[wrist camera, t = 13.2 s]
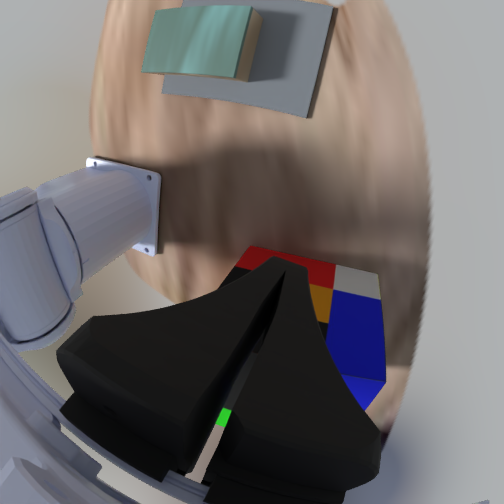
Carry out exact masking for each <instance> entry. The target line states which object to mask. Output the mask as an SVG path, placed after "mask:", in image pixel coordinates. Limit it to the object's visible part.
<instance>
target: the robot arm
mask: <svg viewBox="0 0 504 504" xmlns="http://www.w3.org/2000/svg"><path fill="white" fill-rule="evenodd" d="M150 176H151V178H152V179H150ZM160 187H161V176H160V174H159V173H157V172H153V171H149V170H145V169H141V168H137V167H133V166H129V165H125V164H121V163H117V162H112V161H108V160H104V159H99V158H95V157H89V158H88V159H87V162H86V168H83V169H80V170H78V171H75V172H72V173H69V174H66V175H64V176H61V177H58V178H56V179H53V180H51V181H48V182H46V183H44V184H42V185H40V186H39V187H38V188H36V189H35V190H33V191H32V189H30V188H29V187H25V188H22V189H19V190H17V191H14V192H12V193H10V194H7V195H5V196H3V197H1V198H0V504H140V503H138V502H137V501H135V500H133V499H131V498H129V497H128V496H126V495H124V494H123V493H121V492H119V491H118V490H116V489H114V488H113V487H111V486H110V485H108V484H107V483H105V482H104V481H102V480H101V479H99V478H98V477H97V474H98V473H99V471H100V470H101V468H102V466H101V464H99V463H98V462H97V461H95V460H94V459H93V458H91V457H90V456H89V455H88V454H86V453H85V452H84V451H83V450H82V449H81V448H80V447H79V446H77V445H76V444H75V443H74V442H73V441H71V440H70V439H69V438H68V437H67V436H66V435H64V434H63V433H62V432H61V425H60V423H61V424H62V425H63V426H65V427H66V428H67V429H68V430H69V431H70V432H72V433H73V434H74V435H75V436H77V437H78V438H79V439H80V440H82V441H83V442H84V443H85V444H87V445H88V446H89V447H91V448H92V449H93V450H95V451H96V452H98V453H99V454H100V455H102V456H103V457H104V458H106V459H107V460H109V461H110V462H112V463H113V464H115V465H116V466H118V467H119V468H121V469H123V470H124V471H126V472H128V473H129V474H131V475H132V476H134V477H136V478H138V479H139V480H141V481H143V482H145V483H146V484H149V485H150V486H152V487H154V488H156V489H158V490H160V491H162V492H164V493H166V494H168V495H170V496H172V497H174V498H176V499H179V500H181V501H183V502H186V503H188V504H342V503H343V501H344V497H345V492H346V491H347V490H350V489H352V488H355V487H358V486H360V485H363V484H365V483H367V482H369V481H371V480H372V479H374V478H375V477H376V476H377V474H378V473H379V468H380V459H381V432H380V431H379V429H378V428H377V427H376V425H375V424H374V423H373V421H372V420H371V419H370V418H369V416H368V415H367V414H366V412H365V411H364V410H363V409H362V407H361V406H360V405H359V403H358V402H357V400H356V399H355V397H354V396H353V394H352V392H351V391H350V389H349V388H348V386H347V385H346V383H345V381H344V379H343V378H342V376H341V374H340V372H339V370H338V368H337V367H336V365H335V363H334V361H333V359H332V356H331V354H330V352H329V350H328V348H327V345H326V343H325V340H324V338H323V335H322V332H321V329H320V326H319V323H318V320H317V317H316V313H315V310H314V305H313V301H312V297H311V292H310V286H309V278H308V269H307V267H304V266H302V265H299V264H296V263H293V262H290V261H288V260H285V259H282V258H279V257H276V256H272V257H270V258H269V259H267V260H266V261H265V262H263V263H262V264H261V265H259V266H258V267H256V268H255V269H253V270H252V271H250V272H249V273H247V274H245V275H244V276H242V277H241V278H239V279H237V280H235V281H233V282H231V283H229V284H228V285H226V286H224V287H222V288H220V289H218V290H215V291H213V292H211V293H208V294H206V295H203V296H201V297H198V298H196V299H193V300H190V301H186V302H183V303H179V304H176V305H172V306H169V307H164V308H160V309H155V310H150V311H144V312H137V313H129V314H119V315H105V316H93V317H92V318H90V319H89V320H88V321H87V322H85V323H84V324H83V325H82V326H81V327H80V328H79V329H78V330H77V331H76V332H75V333H73V335H71V337H69V339H67V340H66V341H65V342H64V343H63V344H62V345H61V346H60V347H59V348H58V350H57V351H56V355H57V361H58V363H59V366H60V368H61V369H62V371H63V373H64V375H65V376H66V378H67V380H68V382H69V383H70V385H71V387H72V388H73V390H74V391H75V392H74V393H73V394H72V395H71V397H70V398H69V399H68V400H67V401H65V400H64V399H63V398H62V397H61V396H60V395H59V394H58V393H56V392H55V391H54V390H53V389H52V388H51V387H50V386H49V385H48V384H47V383H46V382H45V381H44V380H43V379H41V377H40V376H39V375H38V374H37V373H36V372H35V371H34V370H33V369H32V368H31V367H30V366H29V365H28V364H27V363H26V362H25V361H24V360H23V359H22V357H21V356H20V355H19V354H18V353H19V352H22V351H27V350H37V349H41V348H44V347H47V346H48V345H51V344H52V343H54V342H55V341H57V340H58V339H59V338H60V337H61V336H62V335H63V334H64V333H65V332H66V331H67V329H68V328H69V326H70V324H71V323H72V321H73V319H74V316H75V313H76V307H75V304H74V301H75V300H76V299H78V298H79V297H80V296H81V295H83V292H82V289H81V284H83V283H84V282H85V281H87V280H88V279H89V278H90V277H92V276H93V275H94V274H96V273H97V272H98V271H100V270H101V269H102V268H104V267H105V266H107V265H108V264H109V263H110V262H112V261H113V260H115V259H116V258H117V257H119V256H120V255H122V254H123V253H125V252H126V251H127V250H129V249H130V248H134V249H136V250H138V251H141V252H143V253H145V254H147V255H150V256H155V255H156V254H157V240H158V217H159V200H160ZM147 248H148V249H147ZM265 328H266V329H265ZM264 330H265V333H264V336H263V339H262V343H261V346H260V349H259V352H258V356H257V358H256V360H255V362H254V364H253V367H252V369H251V371H250V373H249V375H248V377H247V380H246V382H245V384H244V386H243V388H242V390H241V392H240V394H239V396H238V398H237V400H236V402H235V404H234V406H233V408H232V411H231V413H230V416H229V419H228V421H227V424H226V426H225V429H224V431H223V434H222V436H221V439H220V441H219V444H218V446H217V448H216V451H215V452H214V455H213V457H212V459H211V460H210V462H209V465H208V467H207V468H206V472H205V475H204V477H203V480H202V482H201V484H200V483H198V482H195V481H193V480H191V479H188V478H186V477H184V476H185V475H186V474H187V473H191V472H192V471H193V469H194V467H195V465H196V462H197V461H198V458H199V456H200V454H201V452H202V450H203V448H204V446H205V444H206V442H207V439H208V438H209V436H210V434H211V432H212V430H213V428H214V425H215V423H216V421H217V419H218V417H219V415H220V413H221V411H222V409H223V407H224V404H225V402H226V400H227V398H228V396H229V394H230V392H231V390H232V387H233V385H234V383H235V381H236V379H237V377H238V375H239V373H240V372H241V370H242V368H243V366H244V365H245V363H246V361H247V360H248V358H249V356H250V354H251V353H252V351H253V349H254V347H255V346H256V344H257V342H258V340H259V339H260V337H261V335H262V333H263V331H264ZM474 504H489V500H485V501H482V502H479V503H474Z"/></svg>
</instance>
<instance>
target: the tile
mask: <svg viewBox="0 0 504 504" xmlns="http://www.w3.org/2000/svg"><path fill="white" fill-rule="evenodd" d="M262 22H263V18H262V17H261V16H260V15H259V14H258V13H257V12H256V11H255V10H254V8H253V7H252V6H236V5H214V6H193V7H180V8H171V9H163V10H156V12H155V15H154V19H153V22H152V26H151V30H150V34H149V38H148V42H147V47H146V51H145V56H144V60H143V65H142V71H141V72H143V73H153V74H161V75H183V76H197V77H208V78H218V79H226V80H234V81H241V82H247V83H248V79H249V74H250V70H251V66H252V62H253V57H254V53H255V49H256V45H257V41H258V37H259V33H260V29H261V26H262Z"/></svg>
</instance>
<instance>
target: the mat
mask: <svg viewBox="0 0 504 504" xmlns="http://www.w3.org/2000/svg"><path fill="white" fill-rule="evenodd" d="M214 5H236V6H252V7H253V8H254V10H255V11H256V12H257V13H258V14H259V15H260V16H261V17H262V18H263V22H262V26H261V29H260V33H259V37H258V41H257V45H256V49H255V53H254V57H253V62H252V66H251V70H250V74H249V79H248V83H247V82H241V81H234V80H226V79H218V78H208V77H197V76H183V75H165V77H164V82H163V88H162V93H163V94H175V95H186V96H195V97H203V98H211V99H217V100H224V101H230V102H236V103H242V104H247V105H252V106H257V107H262V108H266V109H271V110H275V111H280V112H284V113H288V114H292V115H296V116H299V117H303V118H307V115H308V111H309V107H310V103H311V99H312V95H313V91H314V87H315V83H316V79H317V75H318V71H319V67H320V62H321V58H322V54H323V50H324V46H325V42H326V37H327V33H328V29H329V25H330V20H331V16H332V12H333V6H328V5H323V4H318V3H312V2H306V1H300V0H183V3H182V6H181V7H193V6H214Z"/></svg>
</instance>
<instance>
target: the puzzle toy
mask: <svg viewBox="0 0 504 504" xmlns="http://www.w3.org/2000/svg"><path fill="white" fill-rule="evenodd" d="M272 256H276V257H279V258H282V259H285V260H288V261H290V262H293V263H296V264H299V265H302V266H304V267H307V269H308V278H309V286H310V292H311V297H312V301H313V305H314V310H315V313H316V317H317V320H318V323H319V326H320V329H321V332H322V335H323V338H324V340H325V343H326V345H327V348H328V350H329V352H330V354H331V356H332V359H333V361H334V363H335V365H336V367H337V368H338V370H339V372H340V374H341V376H342V378H343V379H344V381H345V383H346V385H347V386H348V388H349V389H350V391H351V392H352V394H353V396H354V397H355V399H356V400H357V402H358V403H359V405H360V406H361V407H362V409H363V410H364V411H365V410H366V408H367V407H368V406H369V405H370V403H371V402H372V401H373V399H374V398H375V397H376V395H377V394H378V393H379V391H380V390H381V389H382V387H383V386H384V384H385V383H386V355H385V337H384V324H383V313H382V304H381V295H380V287H379V280H378V274H375V273H371V272H367V271H362V270H358V269H353V268H349V267H345V266H340V265H336V264H331V263H327V262H322V261H318V260H313V259H309V258H305V257H300V256H296V255H291V254H287V253H282V252H278V251H273V250H268V249H264V248H259V247H255V246H250V247H249V248H248V249H247V250H246V252H245V253H244V254H243V256H242V257H241V258H240V260H239V261H238V262H237V264H236V265H235V266H234V268H233V269H232V270H231V272H230V273H229V274H228V276H227V277H226V278H225V280H224V281H223V282H222V284H221V285H220V286H219V288H218V289H220V288H222V287H224V286H226V285H228V284H229V283H231V282H233V281H235V280H237V279H239V278H241V277H242V276H244V275H245V274H247V273H249V272H250V271H252V270H253V269H255V268H256V267H258V266H259V265H261V264H262V263H263V262H265V261H266V260H267V259H269V258H270V257H272ZM218 289H217V290H218ZM265 329H266V328H265ZM264 333H265V330H264V331H263V333H262V335H261V337H260V339H259V340H258V342H257V344H256V346H255V347H254V349H253V351H252V353H251V354H250V356H249V358H248V360H247V361H246V363H245V365H244V366H243V368H242V370H241V372H240V373H239V375H238V377H237V379H236V381H235V383H234V385H233V387H232V390H231V392H230V394H229V396H228V398H227V400H226V402H225V404H224V407H223V409H222V411H221V413H220V415H219V417H218V419H217V421H216V423H215V424H217V425H220V426H223V427H225V426H226V424H227V421H228V419H229V416H230V413H231V411H232V408H233V406H234V404H235V402H236V400H237V398H238V396H239V394H240V392H241V390H242V388H243V386H244V384H245V382H246V380H247V377H248V375H249V373H250V371H251V369H252V367H253V364H254V362H255V360H256V358H257V356H258V352H259V349H260V346H261V343H262V339H263V336H264Z"/></svg>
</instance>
